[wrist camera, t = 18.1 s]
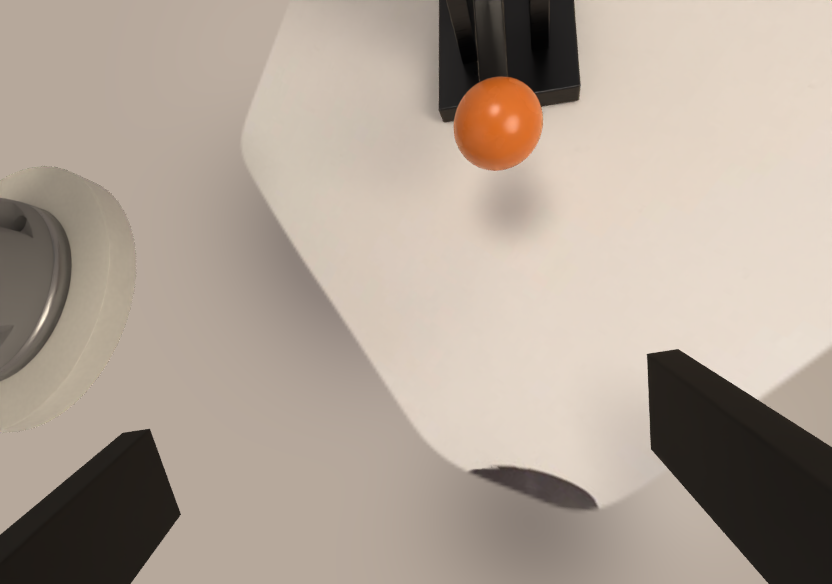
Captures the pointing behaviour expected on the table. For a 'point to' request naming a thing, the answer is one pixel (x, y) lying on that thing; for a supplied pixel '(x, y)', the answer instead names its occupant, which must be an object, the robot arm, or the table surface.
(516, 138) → the switch
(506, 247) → the table surface
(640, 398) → the table surface
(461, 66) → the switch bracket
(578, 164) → the table surface
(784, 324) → the table surface
